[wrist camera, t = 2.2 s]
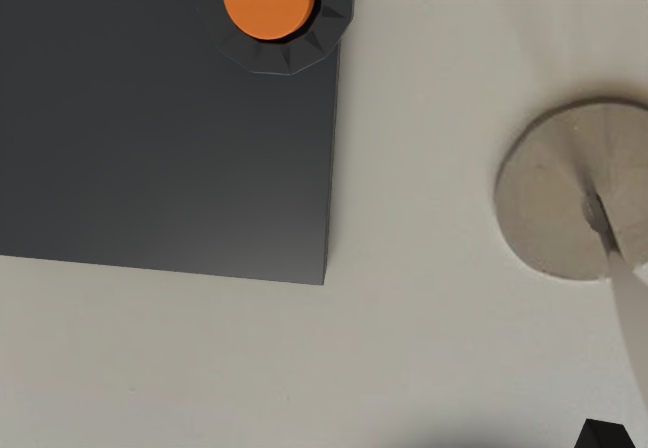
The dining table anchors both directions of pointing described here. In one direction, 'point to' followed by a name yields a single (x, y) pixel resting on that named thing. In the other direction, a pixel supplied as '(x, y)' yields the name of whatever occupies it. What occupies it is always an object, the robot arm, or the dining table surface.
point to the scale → (168, 137)
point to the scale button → (269, 16)
